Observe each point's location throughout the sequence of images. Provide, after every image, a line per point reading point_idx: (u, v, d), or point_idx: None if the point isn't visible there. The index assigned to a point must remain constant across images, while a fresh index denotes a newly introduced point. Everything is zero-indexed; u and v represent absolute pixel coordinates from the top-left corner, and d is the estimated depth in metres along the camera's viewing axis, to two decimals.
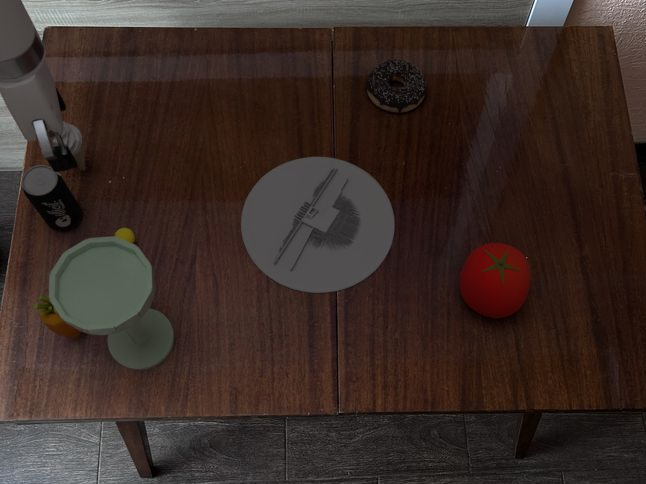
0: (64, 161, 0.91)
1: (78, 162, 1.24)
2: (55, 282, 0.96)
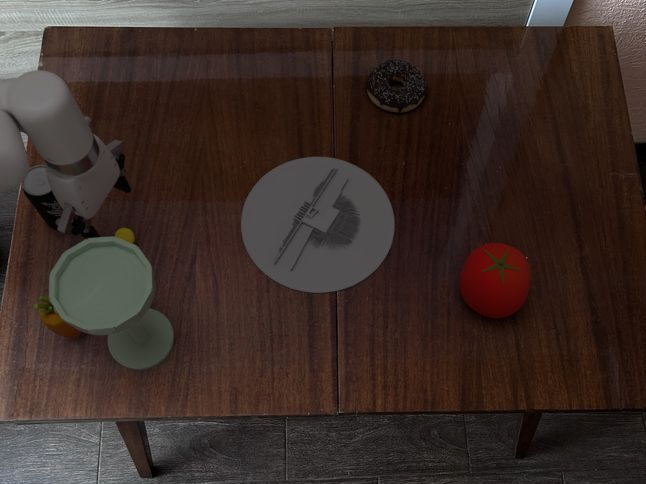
0: (86, 235, 1.08)
1: None
2: (55, 282, 0.96)
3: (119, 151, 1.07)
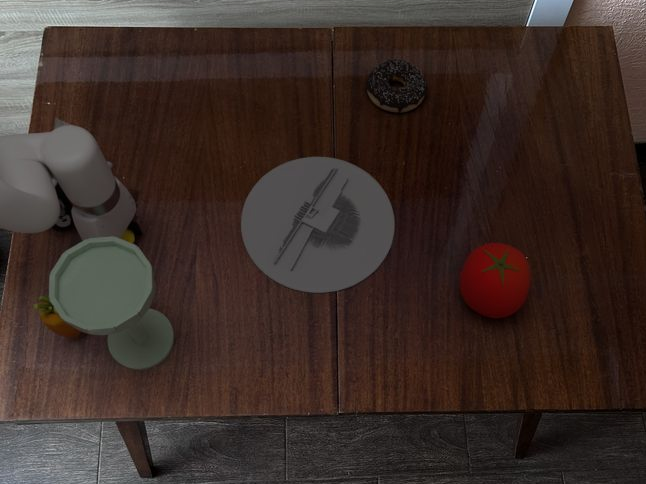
0: None
1: None
2: (55, 282, 0.96)
3: (134, 199, 1.18)
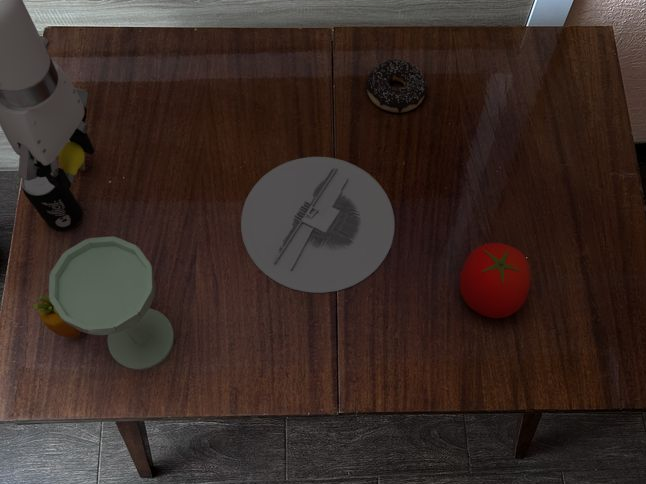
0: (54, 179, 0.93)
1: None
2: (55, 282, 0.96)
3: (82, 100, 0.92)
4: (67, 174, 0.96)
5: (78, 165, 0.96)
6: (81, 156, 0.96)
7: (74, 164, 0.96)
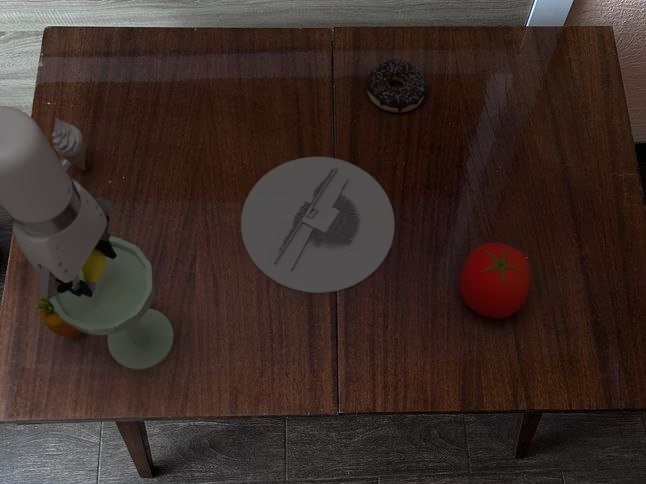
0: (75, 291, 0.89)
1: (78, 162, 1.24)
2: None
3: (104, 210, 0.88)
4: (88, 282, 0.92)
5: (100, 272, 0.92)
6: (103, 263, 0.92)
7: (95, 272, 0.92)
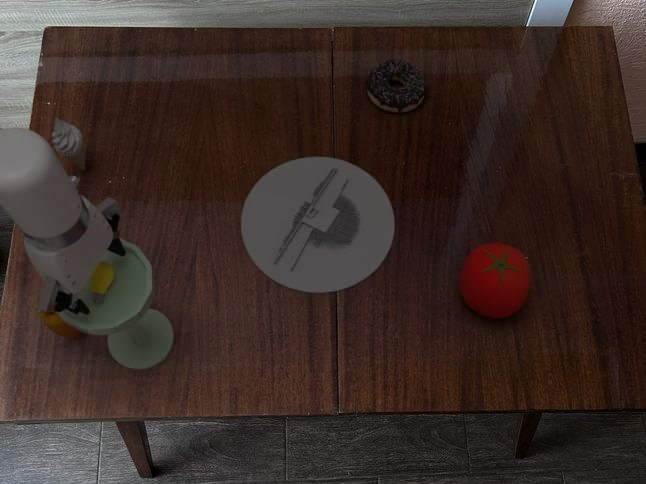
0: (72, 309, 0.91)
1: (78, 162, 1.24)
2: None
3: (112, 211, 0.91)
4: (97, 294, 0.95)
5: (108, 284, 0.96)
6: (111, 276, 0.96)
7: (103, 284, 0.95)
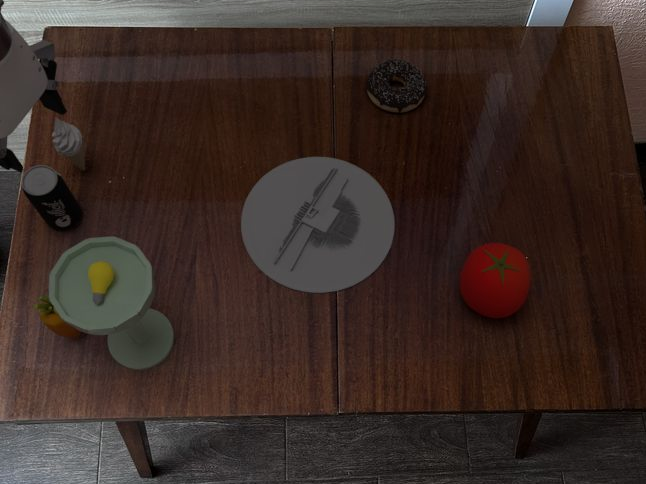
0: (2, 161, 0.84)
1: (78, 162, 1.24)
2: (55, 282, 0.96)
3: (48, 55, 0.84)
4: (97, 294, 0.95)
5: (108, 284, 0.96)
6: (111, 276, 0.96)
7: (103, 284, 0.95)
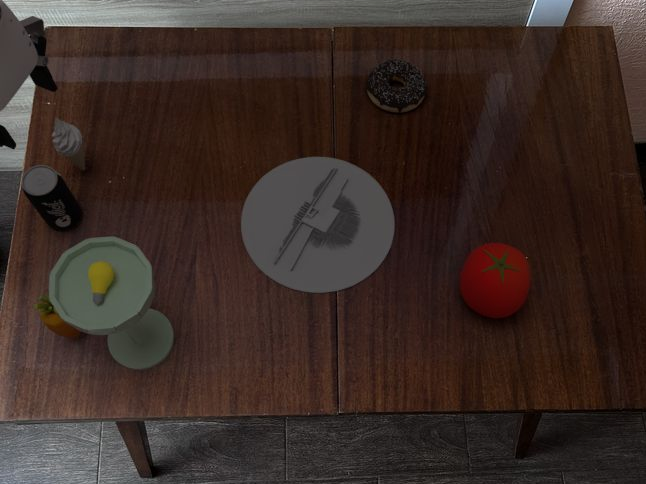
0: None
1: (78, 162, 1.24)
2: (55, 282, 0.96)
3: (37, 31, 0.84)
4: (97, 294, 0.95)
5: (108, 284, 0.96)
6: (111, 276, 0.96)
7: (103, 284, 0.95)
